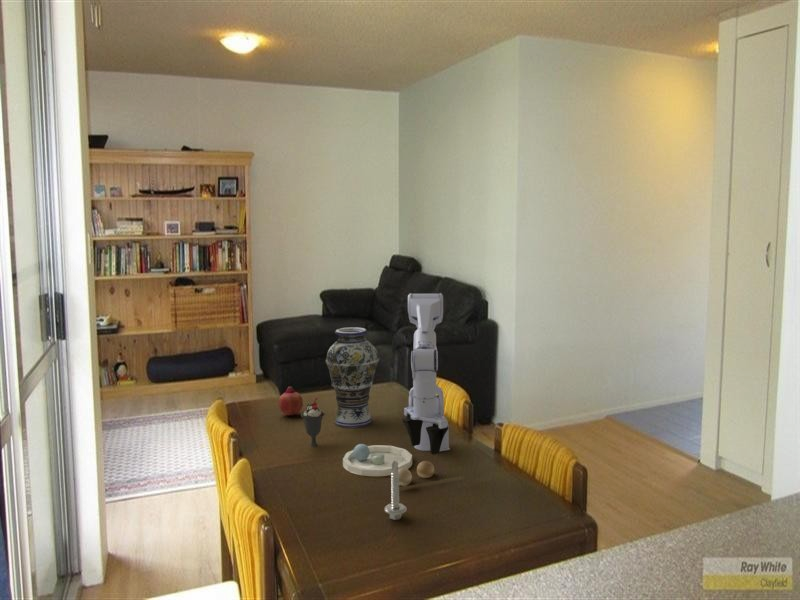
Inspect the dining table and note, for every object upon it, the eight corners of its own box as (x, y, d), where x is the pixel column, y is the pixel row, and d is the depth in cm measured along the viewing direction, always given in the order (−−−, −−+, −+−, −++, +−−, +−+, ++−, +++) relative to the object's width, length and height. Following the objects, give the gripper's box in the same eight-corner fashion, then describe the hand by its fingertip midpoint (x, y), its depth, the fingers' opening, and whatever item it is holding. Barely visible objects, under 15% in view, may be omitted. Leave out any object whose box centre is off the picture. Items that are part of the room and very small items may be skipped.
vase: (390, 418, 216) (388, 327, 212) (359, 433, 201) (357, 336, 197) (349, 411, 225) (347, 323, 221) (316, 425, 210) (313, 331, 206)
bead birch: (407, 481, 165) (407, 464, 165) (414, 487, 161) (414, 470, 161) (391, 484, 164) (391, 466, 163) (398, 490, 160) (397, 473, 159)
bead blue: (366, 456, 180) (366, 440, 180) (372, 461, 176) (371, 445, 176) (351, 458, 179) (350, 442, 178) (356, 464, 175) (356, 448, 174)
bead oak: (429, 473, 170) (429, 457, 169) (437, 480, 166) (437, 463, 165) (414, 476, 168) (413, 459, 168) (421, 482, 164) (421, 465, 164)
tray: (396, 449, 188) (396, 440, 187) (423, 472, 171) (423, 462, 171) (334, 459, 181) (334, 449, 181) (355, 483, 164) (355, 473, 164)
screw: (410, 519, 144) (389, 524, 143) (401, 510, 149) (381, 515, 147) (409, 462, 143) (388, 466, 141) (400, 455, 147) (380, 458, 145)
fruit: (274, 418, 218) (273, 388, 216) (285, 411, 225) (284, 382, 224) (296, 420, 215) (295, 390, 214) (307, 413, 223) (306, 384, 222)
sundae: (321, 452, 186) (320, 400, 184) (298, 451, 187) (297, 399, 185) (328, 444, 192) (327, 394, 190) (306, 443, 194) (305, 393, 192)
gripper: (394, 393, 167) (395, 445, 169) (431, 405, 156) (431, 461, 158) (416, 388, 172) (416, 439, 173) (453, 400, 160) (453, 454, 162)
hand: (425, 449), depth 166 cm, fingers open, 7 cm apart
